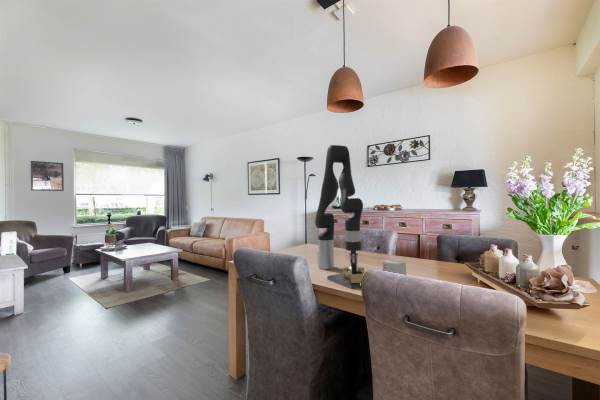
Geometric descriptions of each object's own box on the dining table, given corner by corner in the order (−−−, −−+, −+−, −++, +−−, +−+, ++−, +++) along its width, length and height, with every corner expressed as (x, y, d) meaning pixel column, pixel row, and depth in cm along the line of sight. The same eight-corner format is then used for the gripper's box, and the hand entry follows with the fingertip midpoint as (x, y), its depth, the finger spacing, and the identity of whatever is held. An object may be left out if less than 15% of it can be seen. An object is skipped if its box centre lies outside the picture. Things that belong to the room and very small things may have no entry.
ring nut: (342, 273, 140) (342, 264, 140) (361, 272, 139) (361, 264, 139) (347, 283, 121) (347, 274, 121) (369, 283, 121) (369, 274, 121)
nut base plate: (327, 279, 135) (327, 266, 135) (351, 273, 144) (351, 262, 144) (351, 288, 120) (350, 274, 120) (376, 282, 129) (376, 269, 129)
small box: (407, 291, 115) (406, 261, 115) (399, 295, 111) (398, 264, 111) (390, 287, 121) (389, 259, 121) (382, 290, 117) (382, 261, 117)
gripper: (345, 238, 132) (347, 272, 132) (344, 242, 119) (345, 280, 119) (361, 237, 131) (362, 272, 130) (361, 242, 118) (362, 280, 117)
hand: (354, 276), depth 125 cm, fingers closed
